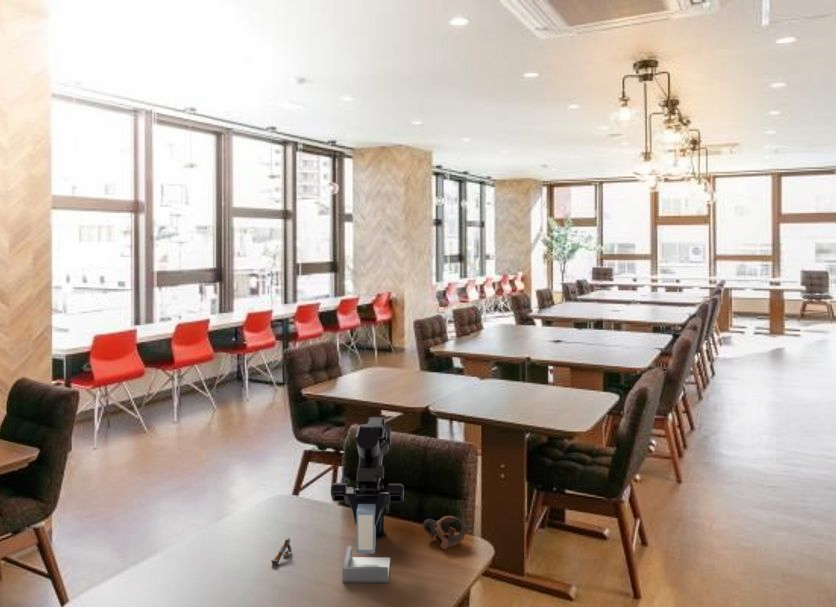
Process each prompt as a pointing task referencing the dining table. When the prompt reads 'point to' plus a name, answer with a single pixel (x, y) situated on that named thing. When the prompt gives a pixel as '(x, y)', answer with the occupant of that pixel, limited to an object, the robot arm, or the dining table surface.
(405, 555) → the dining table surface
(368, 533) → the slate block
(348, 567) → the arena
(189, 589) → the dining table surface
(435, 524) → the pottery mug
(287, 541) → the wooden post with brackets
